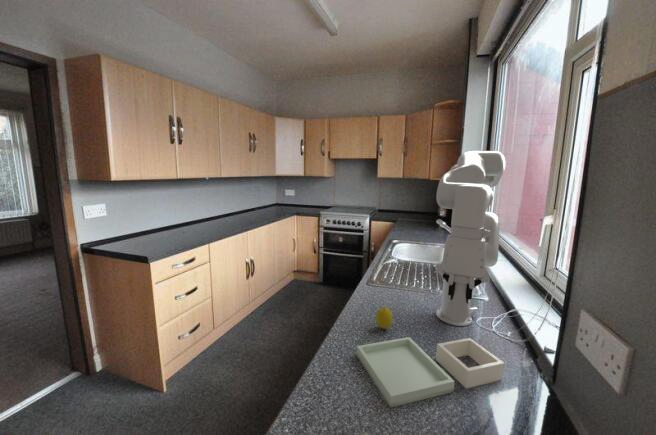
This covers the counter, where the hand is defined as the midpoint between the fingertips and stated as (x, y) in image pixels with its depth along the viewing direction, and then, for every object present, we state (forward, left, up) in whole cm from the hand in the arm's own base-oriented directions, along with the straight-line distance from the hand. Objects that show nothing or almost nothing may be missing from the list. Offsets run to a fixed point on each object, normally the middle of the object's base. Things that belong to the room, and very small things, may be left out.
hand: (459, 298), depth 77 cm
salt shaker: (0, 0, -6) cm, 6 cm away
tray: (+14, -3, -21) cm, 26 cm away
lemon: (+8, -24, -22) cm, 33 cm away
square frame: (-5, +1, -21) cm, 22 cm away
